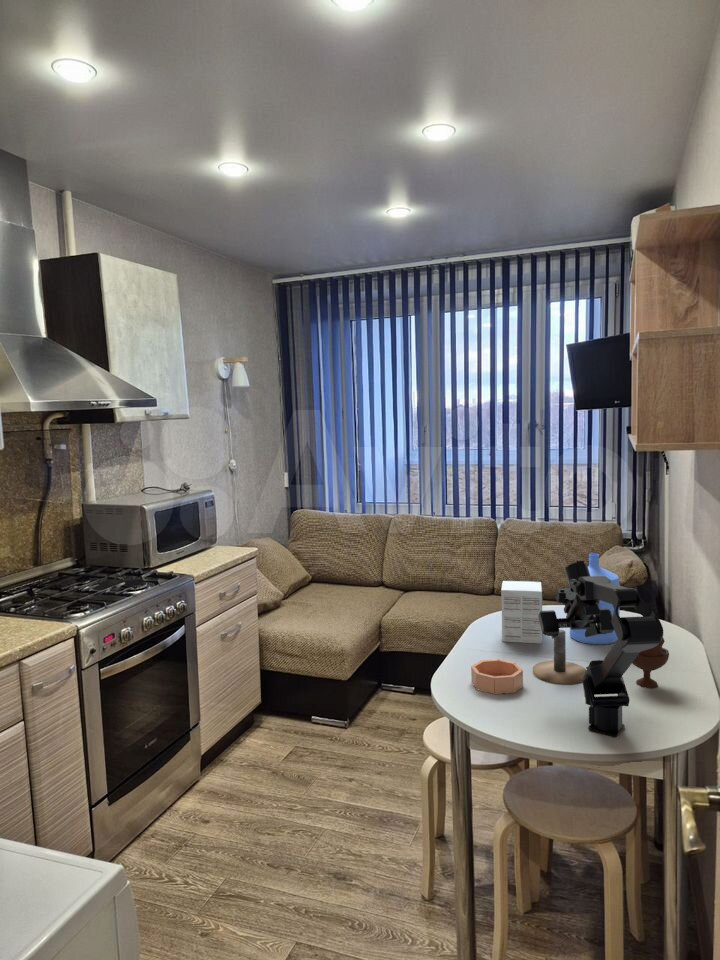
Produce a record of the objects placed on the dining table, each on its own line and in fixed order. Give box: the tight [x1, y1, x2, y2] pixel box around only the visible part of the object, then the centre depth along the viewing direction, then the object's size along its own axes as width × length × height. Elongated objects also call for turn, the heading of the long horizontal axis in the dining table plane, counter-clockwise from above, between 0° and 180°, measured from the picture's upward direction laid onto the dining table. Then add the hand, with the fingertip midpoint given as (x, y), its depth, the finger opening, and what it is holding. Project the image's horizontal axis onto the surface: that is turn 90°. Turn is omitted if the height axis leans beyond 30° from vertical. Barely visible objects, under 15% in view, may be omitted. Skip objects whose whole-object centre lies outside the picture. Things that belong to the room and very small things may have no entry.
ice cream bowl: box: [631, 637, 670, 689], centre depth 175 cm, size 11×11×15 cm
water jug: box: [568, 553, 621, 646], centre depth 214 cm, size 16×16×28 cm
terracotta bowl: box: [470, 658, 524, 695], centre depth 179 cm, size 13×13×4 cm
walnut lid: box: [532, 629, 587, 685], centre depth 185 cm, size 15×15×13 cm
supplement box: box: [500, 580, 543, 645], centre depth 218 cm, size 13×13×18 cm
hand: (568, 636), depth 176 cm, fingers open, 9 cm apart
